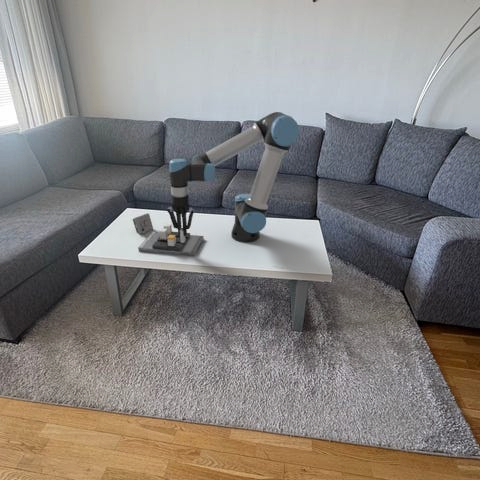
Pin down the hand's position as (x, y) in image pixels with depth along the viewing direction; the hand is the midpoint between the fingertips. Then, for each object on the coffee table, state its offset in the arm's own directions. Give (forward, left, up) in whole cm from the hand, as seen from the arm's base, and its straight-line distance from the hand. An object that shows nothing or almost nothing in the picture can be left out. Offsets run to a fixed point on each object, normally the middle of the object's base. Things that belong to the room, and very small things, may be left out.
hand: (183, 241), depth 158 cm
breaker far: (+12, -12, -2) cm, 17 cm away
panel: (+8, -6, -6) cm, 12 cm away
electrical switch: (+29, -19, -6) cm, 35 cm away
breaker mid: (+12, -6, -2) cm, 13 cm away
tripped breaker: (+6, 0, -2) cm, 6 cm away
